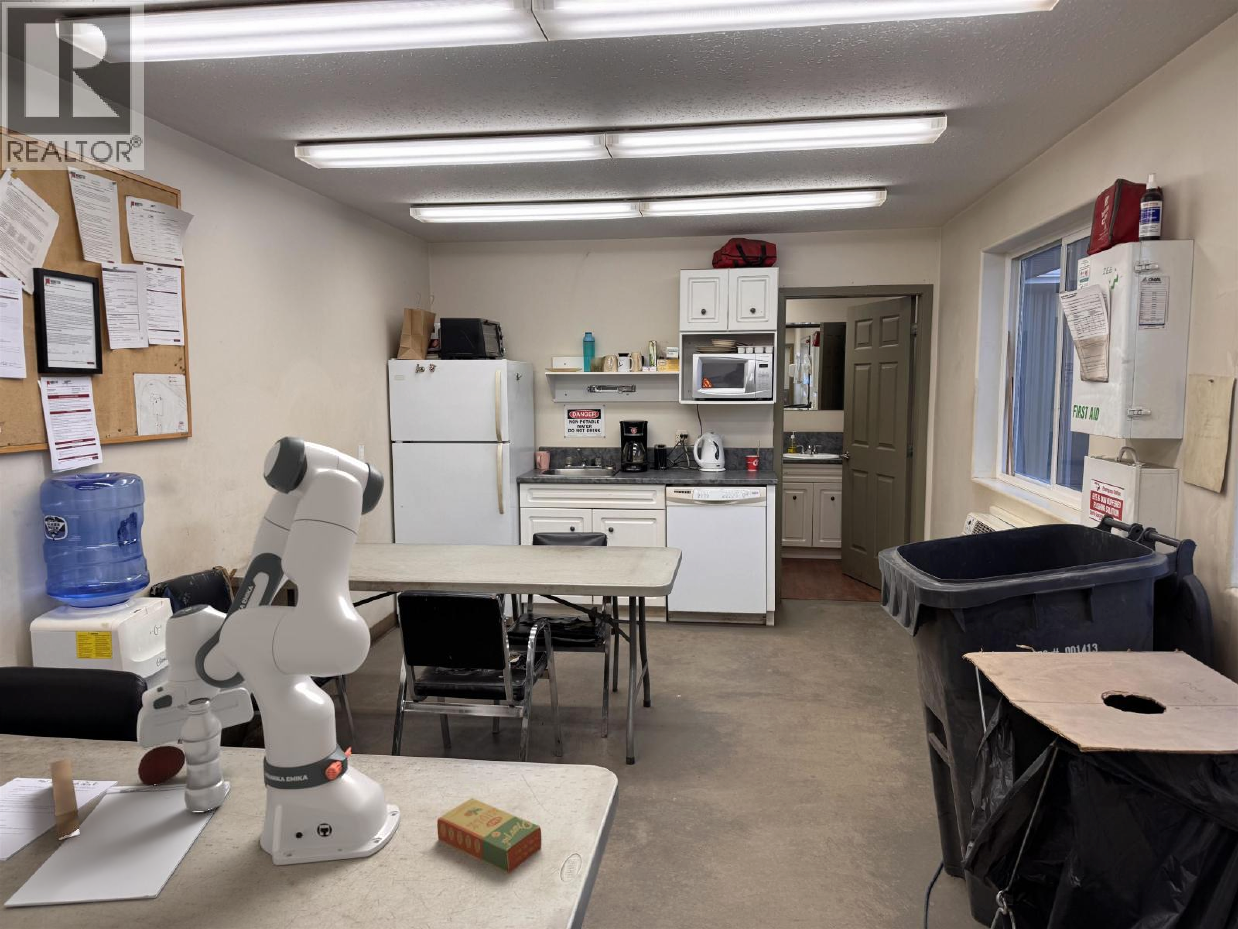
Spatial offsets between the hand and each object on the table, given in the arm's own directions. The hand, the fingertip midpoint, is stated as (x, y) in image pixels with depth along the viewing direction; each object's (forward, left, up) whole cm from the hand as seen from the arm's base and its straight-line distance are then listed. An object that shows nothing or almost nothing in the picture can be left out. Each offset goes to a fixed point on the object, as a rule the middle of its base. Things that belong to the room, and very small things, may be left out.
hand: (199, 754), depth 151 cm
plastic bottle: (-10, +14, -3) cm, 17 cm away
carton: (-64, +23, -4) cm, 68 cm away
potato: (+5, +4, -3) cm, 7 cm away
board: (+16, +15, -3) cm, 22 cm away
